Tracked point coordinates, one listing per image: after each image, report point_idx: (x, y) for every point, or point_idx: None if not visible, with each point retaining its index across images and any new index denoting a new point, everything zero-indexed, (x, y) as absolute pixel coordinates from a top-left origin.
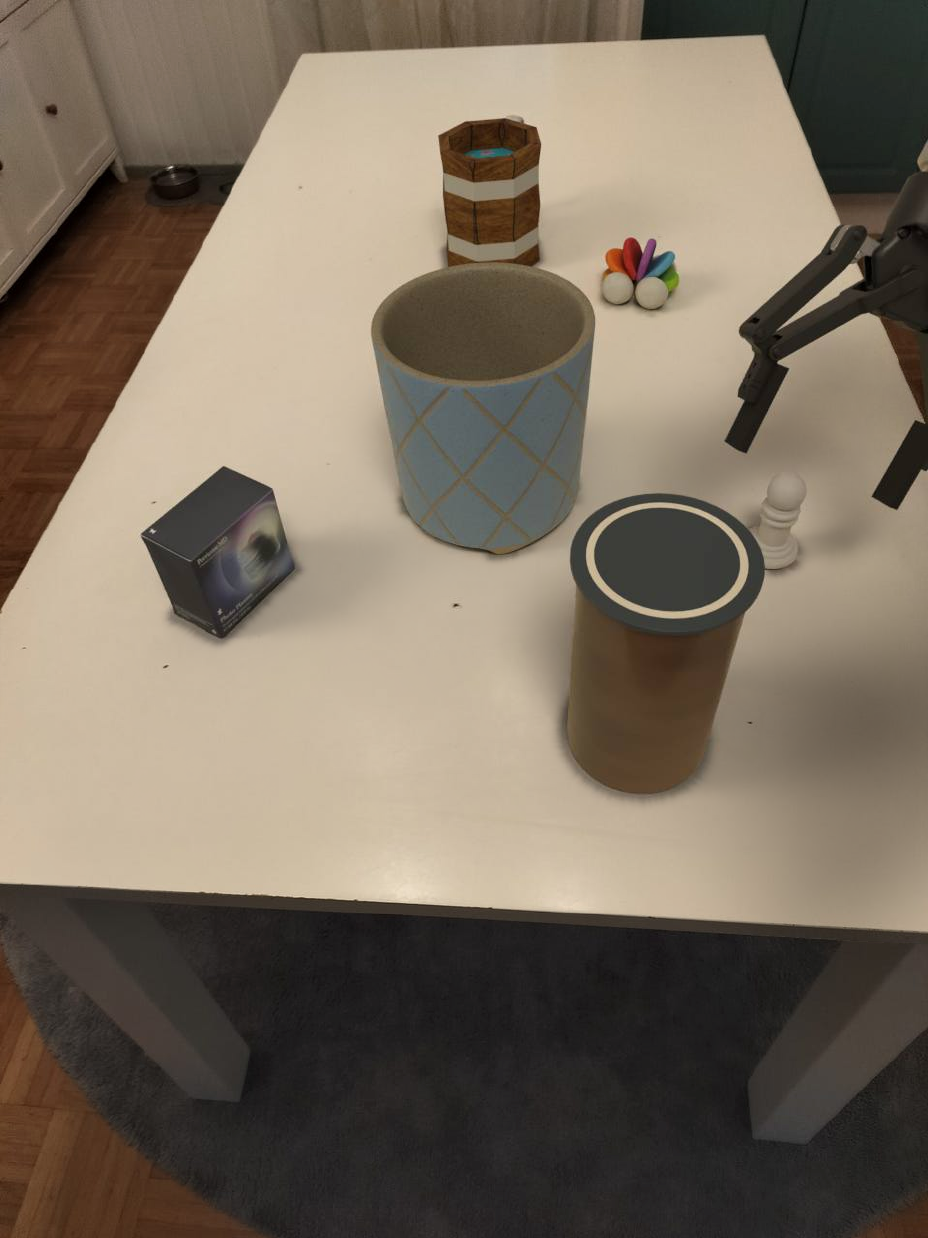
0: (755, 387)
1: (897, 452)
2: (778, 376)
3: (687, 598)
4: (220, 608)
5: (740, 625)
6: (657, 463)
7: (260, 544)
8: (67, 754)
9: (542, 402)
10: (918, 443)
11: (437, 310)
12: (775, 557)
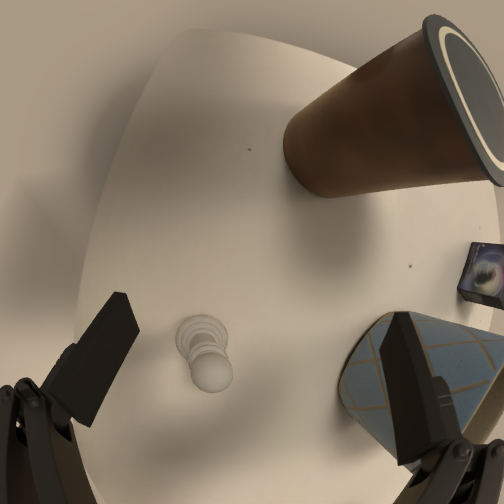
0: (441, 398)
1: (110, 382)
2: (436, 421)
3: (464, 46)
4: (484, 246)
5: (396, 47)
6: (276, 419)
7: (487, 276)
8: (488, 189)
9: (475, 365)
10: (84, 381)
11: (465, 437)
12: (201, 323)
